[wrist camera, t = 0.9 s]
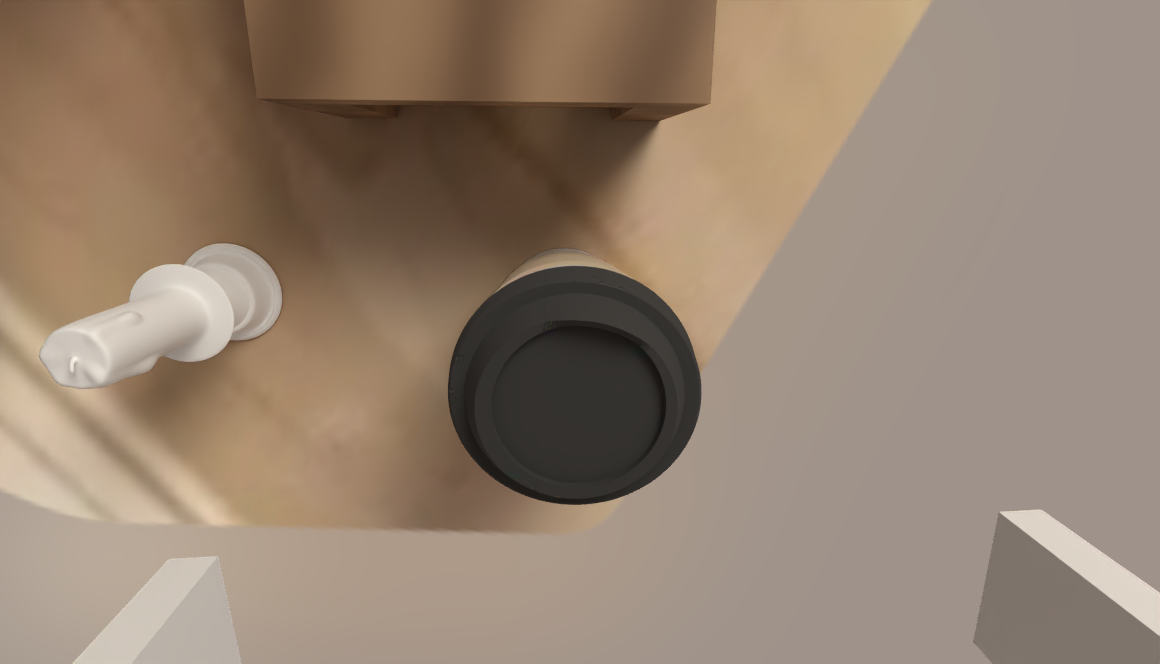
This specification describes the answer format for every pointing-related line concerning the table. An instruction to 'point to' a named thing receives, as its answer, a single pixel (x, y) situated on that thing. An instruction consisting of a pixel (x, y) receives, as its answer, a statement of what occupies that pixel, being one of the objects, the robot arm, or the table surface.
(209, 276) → the candle
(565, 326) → the coffee cup
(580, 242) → the table surface
